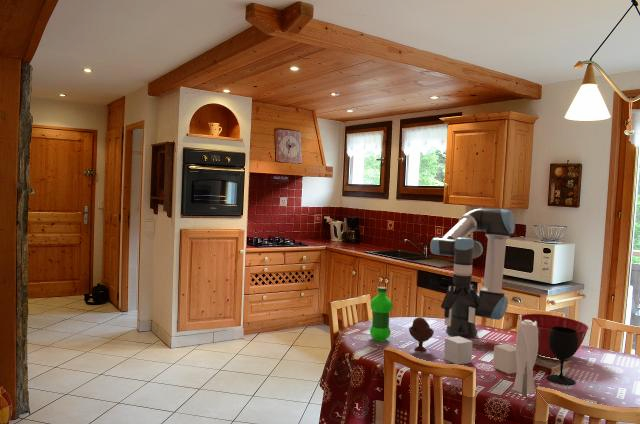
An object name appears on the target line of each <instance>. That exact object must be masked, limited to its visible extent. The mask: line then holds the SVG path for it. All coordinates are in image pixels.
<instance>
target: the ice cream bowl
mask: <svg viewBox="0 0 640 424" xmlns="http://www.w3.org/2000/svg"><path fill="white" fill-rule="evenodd" d="M408 332H409V335H411V338H413V339H414V340H415V341H417V342H418V346H415V347H414V349H413V350H414V351H415V352H418V353H426V352H427V351H428V350H427V349H426V347H424V346H423V345H424V344H423V343H424V342H427V341H429V340H430V339H431V338H432V337H433V335H434V332H435V330H434V329H433V328H431V326H430V325H429V323H428V322H427V320H426V319H425V318H423V317H419V316H418V317H416V318H414V319H413V321H412V326H411V327H409V328H408Z"/></svg>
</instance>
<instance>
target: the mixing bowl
mask: <svg viewBox="0 0 640 424" xmlns="http://www.w3.org/2000/svg"><path fill="white" fill-rule="evenodd" d="M521 315H522V321H524V320H531V321H532V322H535V321H536V322H537V330H538V352H537V354H538V355H541V356H545V357H550V358H557V357H556V356H555V355H554V354H553V352H552V351H551V349H550V347H549V334H550V331H551V329H552V327H566V328H571V329H574V330H576V331H577V335H578V349H577V351H579V349H580V347H581V345H582V344H583V342H584V340H585V337H586V334H587V332H588V331H589V325H587V324H586V323H584V322H582V321H579V320H576V319H572V318H570V317H564V316H560V315H553V314H544V313H543V314H542V313H527V314H521ZM518 320H519V321H520V316H519V317H518ZM577 351H576V352H577ZM538 355H537V356H538ZM557 359H559V358H557Z"/></svg>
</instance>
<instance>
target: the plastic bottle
mask: <svg viewBox="0 0 640 424" xmlns="http://www.w3.org/2000/svg"><path fill="white" fill-rule="evenodd" d="M387 289H388V288H387V287H386V286H377V292H378V294H377V295H376V296H375V297H373V298H372V299H371V300H370V309H371V310H372V319H371V320H372V322H371V326H370V328H369V334H370V335H371V338H372V339H374V341H375V342H376V341H377V342H385V341H386V340H388V339H389V337H390V336H391V330H390V313H391V311H392V310H393V302H392V301H391V299H390V298H389V297H388V296H387V295H386V293H387Z"/></svg>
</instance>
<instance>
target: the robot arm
mask: <svg viewBox="0 0 640 424" xmlns="http://www.w3.org/2000/svg"><path fill="white" fill-rule="evenodd" d="M515 227H516V220H515V216H514V213H513V212H512V211H511V210H510V209H503V208H501V209H500V208H484V207H483V208H482V207H481V208H480V207H479V208H476V209H472V210H470V211H468V212H465V213H464V214H463V215H461V216H460V217H459V219H458V222H457V223H456V224H455V225H454V226H453V227H452V228H450V229H449V230H448V231H447V232H446V233H445V234H444V235H443V236H442V237H433V238H432V239H431V241H430V247H429V249H430V253H431V254H434V255H437V256H444V257H445V256H448V257H453V276H452V282H453V286H451V285H448V286H447V290H446V293H445V295H444V297H443V300H442V302H441V305H440V308H441V309H442V310H443V311H444V314H443V315H444V325H445V326H446V329H445V331H446V334H448V335H449V336H451V337H456V336H460V337H462V338H465V339H470V338H476V337H477V336H478V330H477V325H476V321H475V318H476V317H480V318H486V319H490V320H497V321H500V320H502V319H503V318H504V316H505V314H506V312H507V309H508V305H509V303H508V301H509V299H508V297H507V296H505V293H506V292H505V291H504V290H503V289H502V287H503V279H504V268H505V260H506V259H505V257H506V248H507V247H506V246H507V240H509V239H510V238H511V235H513V234H514V233H515V230H516V229H515ZM475 232H485V235H484V236H486V238H487V244H486V245H487V247H486V257H485V267H484V277H483V286H482V287H481V288H480V289H479V292H477V289H476V288H477V287H476V285H475V284H472V274H473V259H477V258H479V257H481V255H482V254H483V251H484V248H483V245H482V243H481V242H480V241H477V240H474V239H473V238H472V237H467V236H468V235H470V234H472V233H475Z"/></svg>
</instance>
